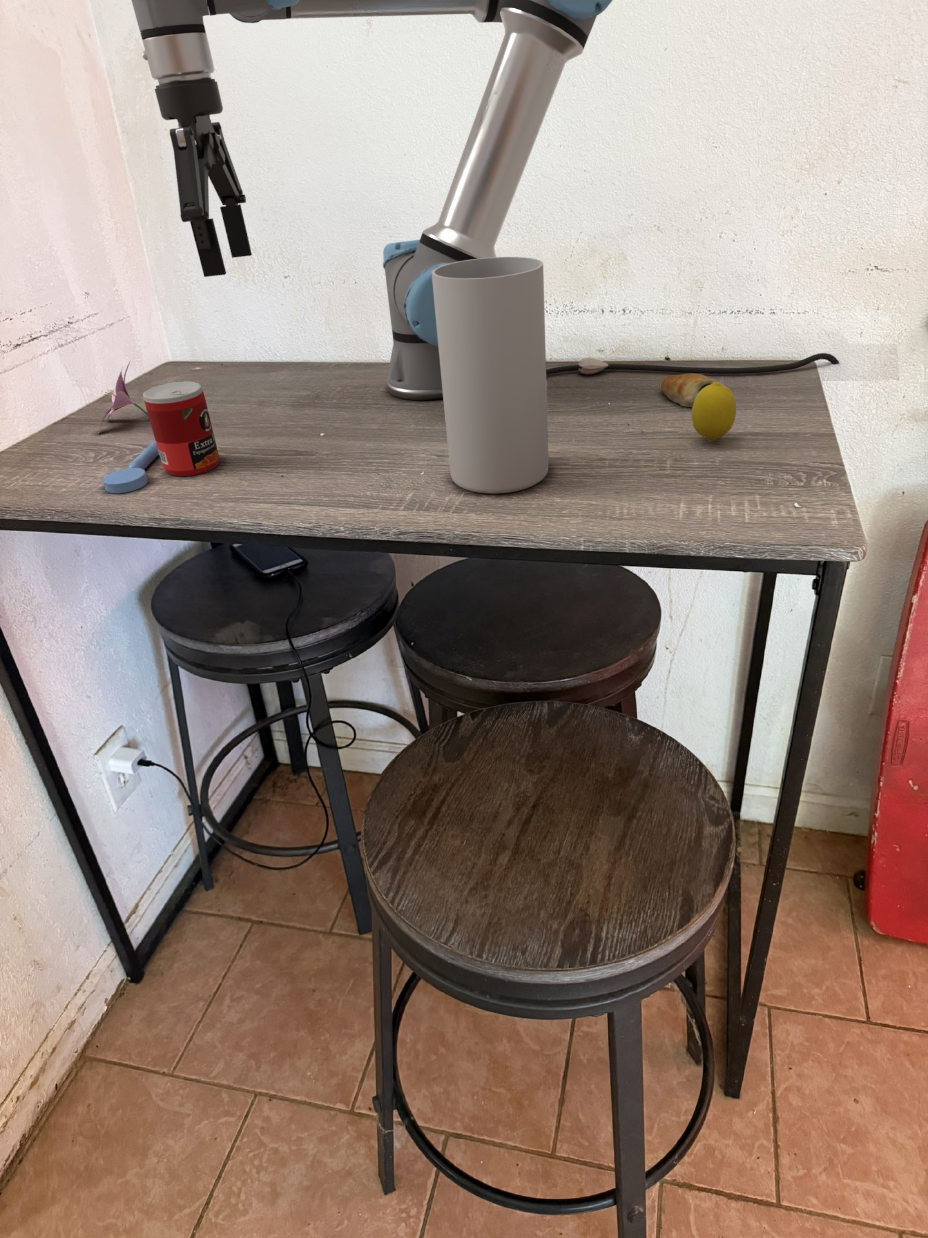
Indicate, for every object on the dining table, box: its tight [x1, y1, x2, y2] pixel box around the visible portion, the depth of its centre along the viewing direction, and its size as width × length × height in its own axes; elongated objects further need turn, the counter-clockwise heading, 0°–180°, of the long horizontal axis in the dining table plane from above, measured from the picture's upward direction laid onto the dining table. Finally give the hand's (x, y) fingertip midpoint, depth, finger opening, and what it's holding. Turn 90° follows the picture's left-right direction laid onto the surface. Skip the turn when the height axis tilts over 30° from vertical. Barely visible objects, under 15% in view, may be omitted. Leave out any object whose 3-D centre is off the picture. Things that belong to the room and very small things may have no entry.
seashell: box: [578, 357, 609, 376], centre depth 141 cm, size 4×5×2 cm
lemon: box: [691, 381, 737, 443], centre depth 110 cm, size 6×6×8 cm
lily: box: [98, 360, 148, 432], centre depth 136 cm, size 12×12×10 cm
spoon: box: [102, 439, 160, 494], centre depth 121 cm, size 21×6×2 cm, turn 177°
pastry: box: [659, 373, 718, 408], centre depth 127 cm, size 9×7×4 cm
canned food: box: [142, 381, 220, 477], centre depth 116 cm, size 8×8×11 cm
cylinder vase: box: [432, 256, 550, 495], centre depth 101 cm, size 12×12×25 cm
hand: (229, 265), depth 114 cm, fingers open, 13 cm apart
